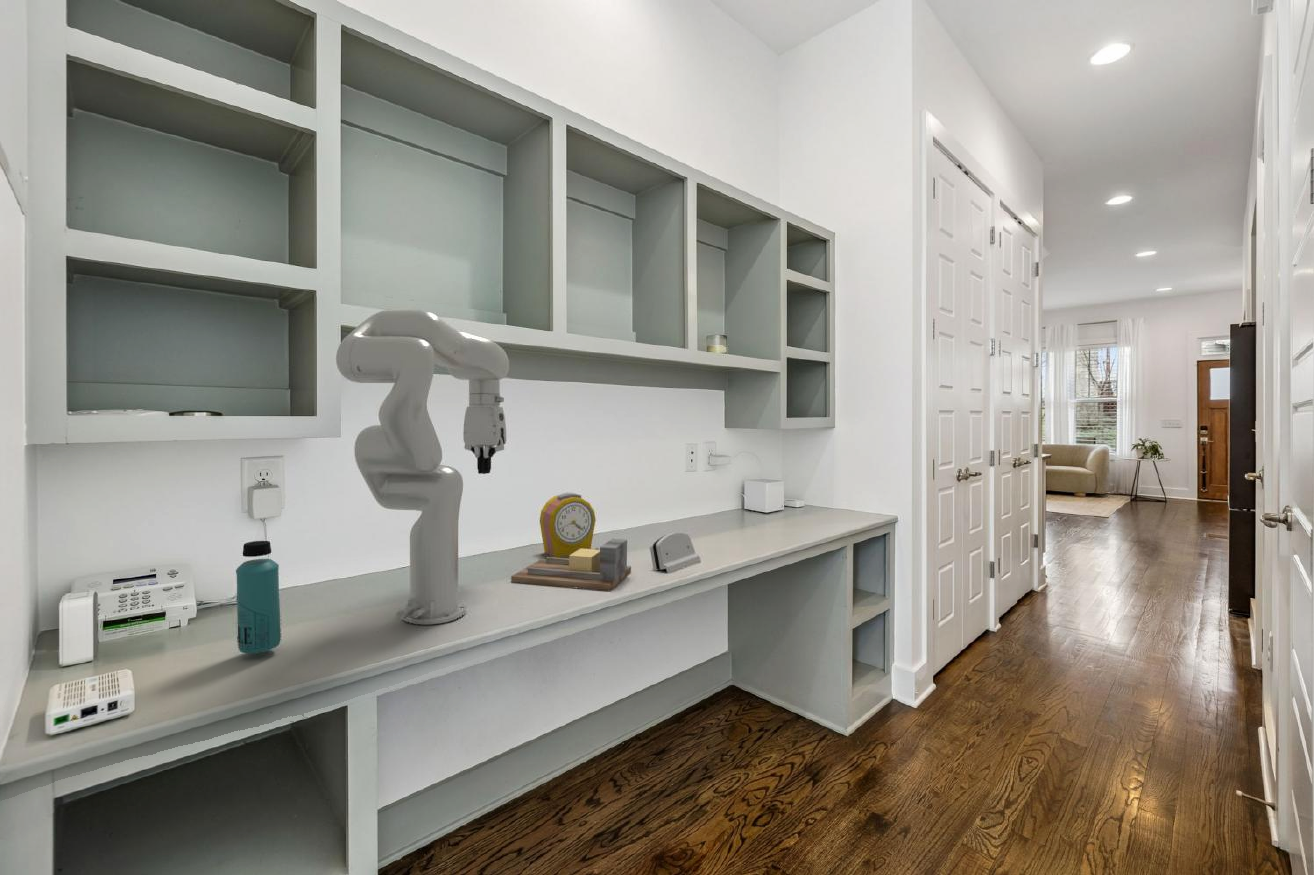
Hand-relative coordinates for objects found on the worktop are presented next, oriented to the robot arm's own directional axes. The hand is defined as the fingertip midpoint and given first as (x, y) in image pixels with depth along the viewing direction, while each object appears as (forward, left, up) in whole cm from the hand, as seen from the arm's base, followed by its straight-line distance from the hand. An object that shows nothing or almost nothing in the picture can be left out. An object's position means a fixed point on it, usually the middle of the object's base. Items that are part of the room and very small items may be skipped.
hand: (484, 473), depth 153 cm
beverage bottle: (-54, +12, -27) cm, 62 cm away
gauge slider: (+9, -25, -25) cm, 37 cm away
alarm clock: (+30, -11, -27) cm, 42 cm away
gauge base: (+7, -22, -27) cm, 35 cm away
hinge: (+26, -44, -27) cm, 58 cm away
